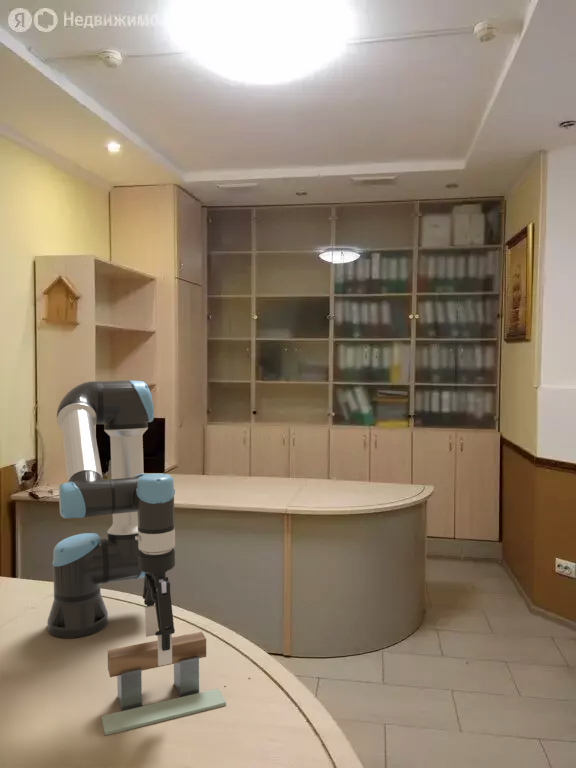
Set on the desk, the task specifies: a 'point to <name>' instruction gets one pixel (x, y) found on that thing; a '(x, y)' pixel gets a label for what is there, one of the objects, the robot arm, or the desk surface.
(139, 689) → the cradle posts
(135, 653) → the rail
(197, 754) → the desk surface
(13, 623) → the desk surface
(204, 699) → the mat
